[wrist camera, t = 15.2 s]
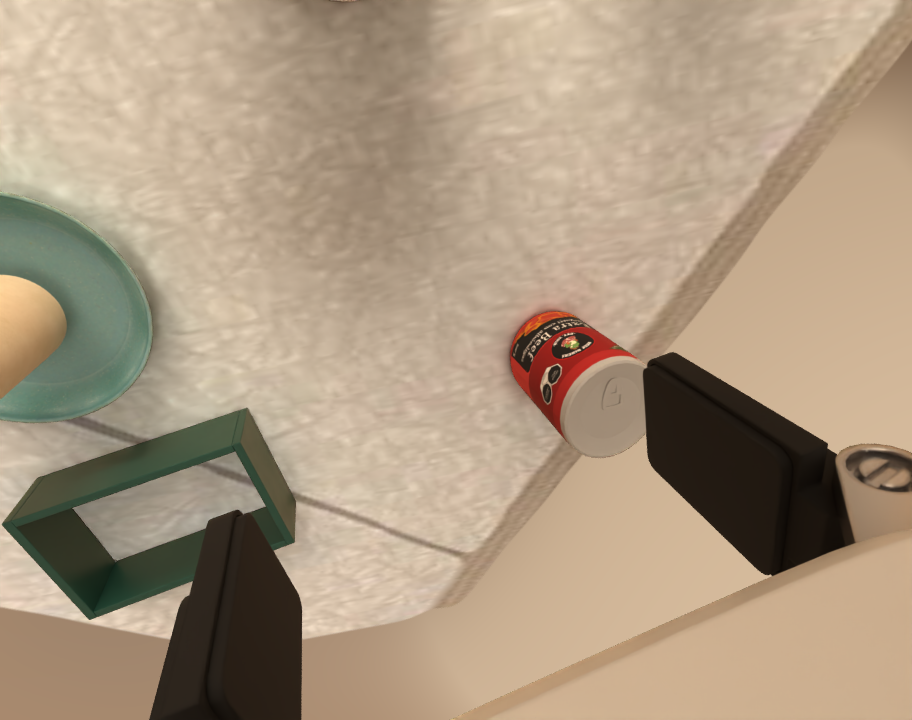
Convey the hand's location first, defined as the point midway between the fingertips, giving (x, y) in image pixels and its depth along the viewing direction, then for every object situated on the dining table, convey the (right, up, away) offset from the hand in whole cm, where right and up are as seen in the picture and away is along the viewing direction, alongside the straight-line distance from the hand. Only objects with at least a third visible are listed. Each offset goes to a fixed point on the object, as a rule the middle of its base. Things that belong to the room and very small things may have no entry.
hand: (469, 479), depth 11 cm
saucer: (-28, +6, +21) cm, 35 cm away
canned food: (+8, +4, +33) cm, 34 cm away
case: (-23, -8, +29) cm, 38 cm away
